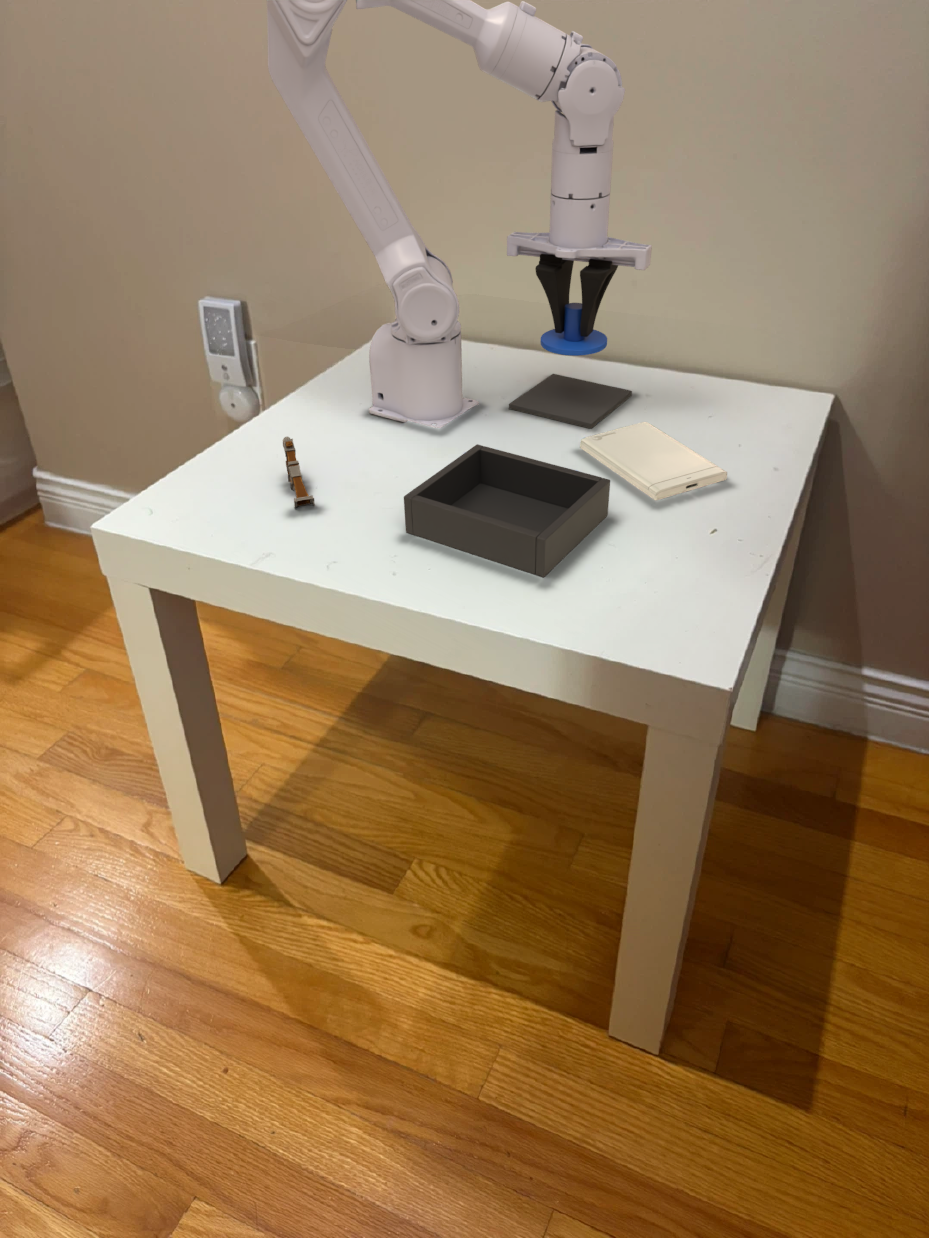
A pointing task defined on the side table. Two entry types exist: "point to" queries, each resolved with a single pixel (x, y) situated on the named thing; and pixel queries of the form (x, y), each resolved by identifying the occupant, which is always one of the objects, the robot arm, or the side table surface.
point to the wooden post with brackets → (295, 474)
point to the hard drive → (652, 460)
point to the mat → (571, 400)
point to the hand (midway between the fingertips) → (573, 332)
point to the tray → (508, 508)
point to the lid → (573, 336)
